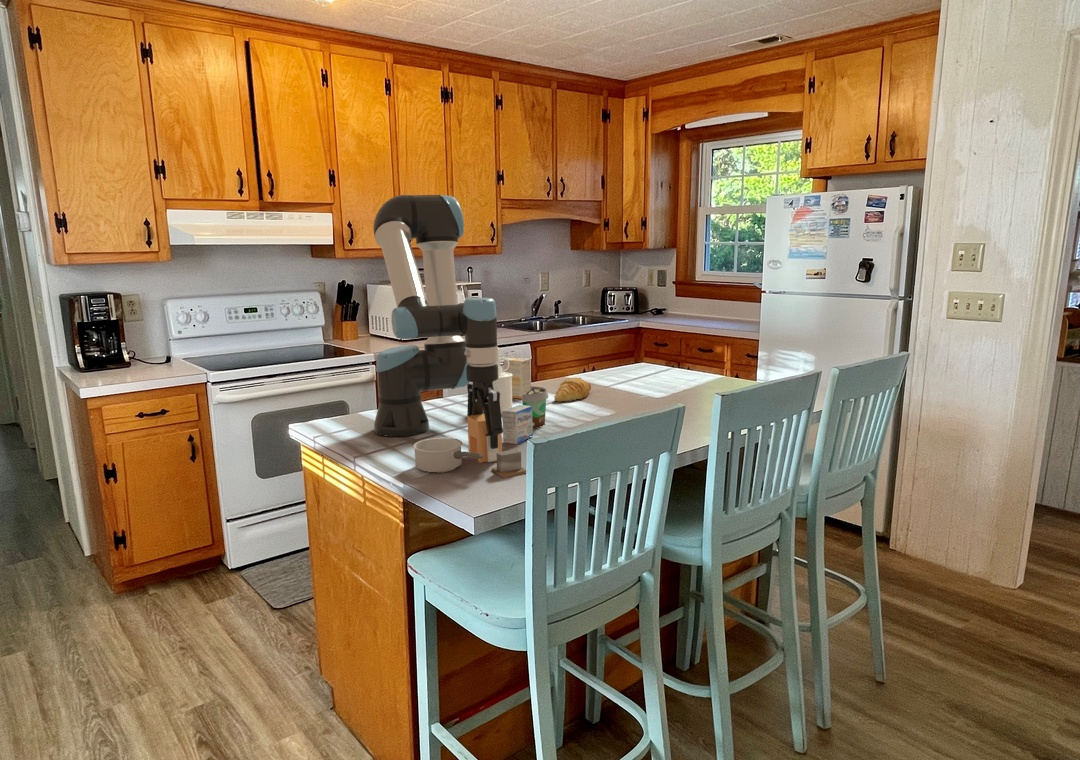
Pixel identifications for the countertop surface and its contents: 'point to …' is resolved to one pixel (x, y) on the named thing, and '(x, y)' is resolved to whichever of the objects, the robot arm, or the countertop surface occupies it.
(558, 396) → the croissant
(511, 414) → the medicine box
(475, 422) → the tall orange brick
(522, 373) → the supplement box
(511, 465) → the sponge on coaster
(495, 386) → the white squeeze bottle
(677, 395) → the countertop surface
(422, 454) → the saucepan
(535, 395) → the food container
